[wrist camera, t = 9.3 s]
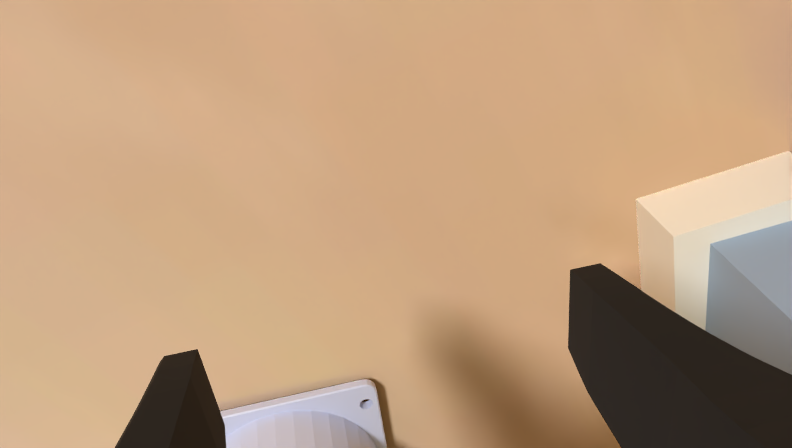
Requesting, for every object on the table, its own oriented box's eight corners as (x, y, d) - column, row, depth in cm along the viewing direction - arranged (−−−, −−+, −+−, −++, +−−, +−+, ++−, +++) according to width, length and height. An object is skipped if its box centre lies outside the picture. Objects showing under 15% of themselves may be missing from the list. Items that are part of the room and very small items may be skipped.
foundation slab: (773, 271, 30) (823, 315, 27) (639, 314, 30) (676, 362, 27) (782, 147, 27) (840, 184, 24) (631, 194, 26) (673, 237, 24)
